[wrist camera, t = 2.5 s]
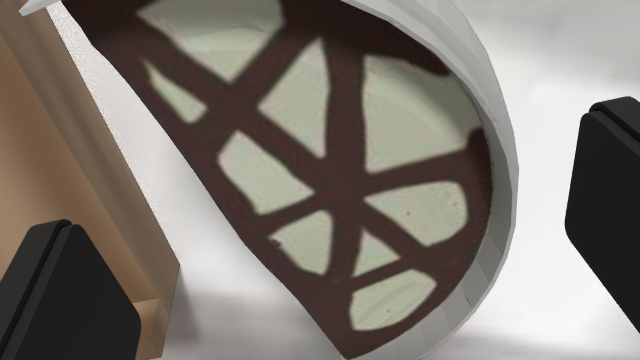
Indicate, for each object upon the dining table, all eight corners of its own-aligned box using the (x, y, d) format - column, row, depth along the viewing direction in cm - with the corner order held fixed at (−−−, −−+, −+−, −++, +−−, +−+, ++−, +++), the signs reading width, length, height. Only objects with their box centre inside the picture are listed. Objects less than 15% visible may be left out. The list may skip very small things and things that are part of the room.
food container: (460, 122, 20) (584, 330, 12) (323, 180, 21) (354, 404, 13) (339, -238, 13) (449, -304, 5) (144, -121, 14) (-15, -27, 6)
